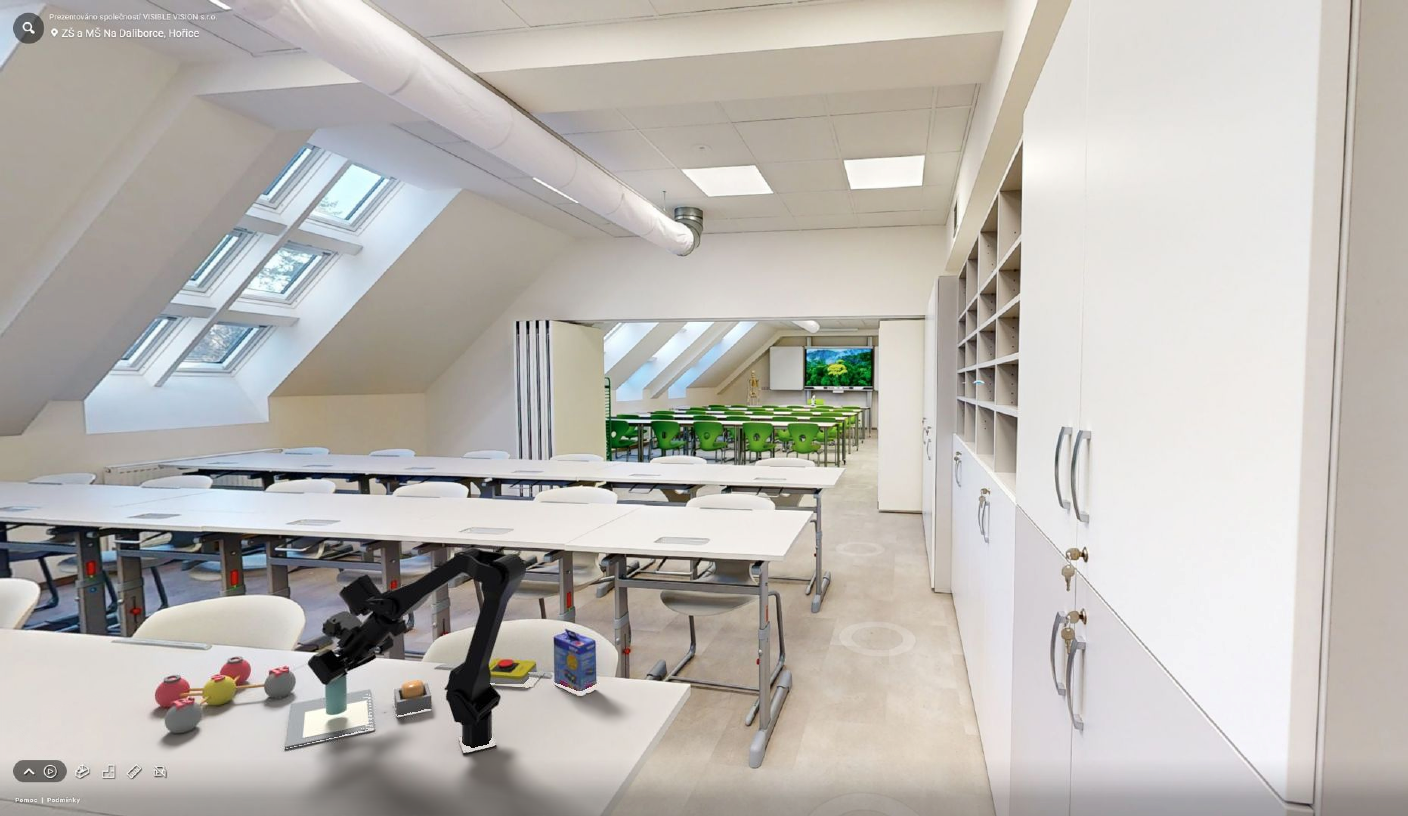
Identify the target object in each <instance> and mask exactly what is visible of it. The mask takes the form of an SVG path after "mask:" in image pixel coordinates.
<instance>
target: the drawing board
mask: <svg viewBox="0 0 1408 816" xmlns="http://www.w3.org/2000/svg"><path fill="white" fill-rule="evenodd" d="M371 690H372V689H370V688H369V689H364V690H358V691H353V692H347V710H346V711H344V712H343V713H340V714H336V715H328V714H326V698H325V697H321V698H315V699H311V700H304V701H299V702H294V703H293V702H292V703H290V706H289V714H288V720H287V727H286V736H285V741H284V750H285V749H286V748H290V747H294V746H299V745H304V744H307V743H312V742H316V741H320V740H326V739H329V738H334V737H339V736H342V735H345V734H351V733H354V732H356V731H357V732H358V731H365V730H368V729H366V728H375V722H374V721H375V720H374V719H375V718H374V709H373V702H369V700H371V699H372V692H371ZM366 694H368V695H366ZM369 694H371V696H369ZM363 697H371V699H368V698H363ZM365 700H366V701H365ZM367 700H368V701H367ZM367 703H368V704H367ZM369 703H372V705H369ZM367 706H368V707H367ZM369 706H372V707H369ZM369 709H373V710H369ZM369 712H373V713H370V715H373V716H372V717H369V716H368V715H369ZM368 718H374V719H372V720H368ZM369 722H373V723H369ZM365 725H373V727H372V726H371V727H370V726H367V727H366V726H365ZM361 728H362V729H361ZM363 728H364V729H363Z"/></svg>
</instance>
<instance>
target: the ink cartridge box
mask: <svg viewBox="0 0 1408 816" xmlns="http://www.w3.org/2000/svg"><path fill="white" fill-rule="evenodd" d="M564 631H565V632H563V633H560V634H557V635H555V636H553V669H554V670H553V676H554V677H553V679H554V682H555V683H557V684H561V685H563V686H565V687H569V688H571V689H574V690H576V691H583V690H585V689H587V688H589V687H592V686H593V685H595V684H598V681H597V680H598V679H597V647H596V646H597V644H596V643H597V642H596V640H595V639H593V638H591V637H588V636H584V635H580V633H577V632H576V631H572V630H570V629H568V628H564ZM554 682H553V683H554Z"/></svg>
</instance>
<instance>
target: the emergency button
mask: <svg viewBox="0 0 1408 816" xmlns="http://www.w3.org/2000/svg"><path fill="white" fill-rule="evenodd" d="M489 668H490V672H491V680H490V683H495V684H524V683H525V682H526V681H527V680H528V679H529V675H530V674H529V673H528V672H544V671H542V670H537V662H536V661H535V660H524V659H523V660H522V659H512V658H511V659H510V658H494V659H492V660H490V661H489Z"/></svg>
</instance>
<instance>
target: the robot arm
mask: <svg viewBox="0 0 1408 816" xmlns="http://www.w3.org/2000/svg"><path fill="white" fill-rule="evenodd" d="M526 573H527V565H526V564H525V562H524V560H523V559H522V558H521V556H519V555H518V554H515V553H508V554H506V553H503V552H499V551H497V552H496V551H489V550H482V549H480V548H477V547H469V548H466V549H464V550H461V551H459V552H456V554H455V555H454V556H452V558H450V559H448V560H447V561H445V562H444V563H442V564H441V565H439V566H438V567H436V568H435V569H433V570H431V571H430V572H428V573H427V574H425V575H423V576H422V577H421V578H418V579H417V580H415V581H412V582H410V583H407V584H405V585H402V586H400V587H398V588H393V589H389V590H386V591H384V592H381V590H380V589H379V588H378V587H377V586H376V584H375V583H374V581H373V580H372V579H371V577H370V576H369V574H368V573H366V574H363V575H360V576H358V578H357V579H355V580H354V581H352V582H351V583H349V584H348V585H346V586H345V587H343V588H342V589H341V590H340V591H339V592H338V593H339V594H338V595H339V597H340V598H341V599H342V600H343V602H344V603H345V604H346V606H347V607H348V609H350V610H351V612H352V613H353V614H352V613H351V612H349V611H347V610H346V611H345V610H344V611H340V612H337V613H336V614H333V615H331V616H329V618H327V619H326V620H325V622H324V623H322V629H321V631H322V633H323V634H325V635H326V636H327V637H328V638H336V639H337V640H338V641H337V642H336V644H337V645H338V646H339V648H340V649H339V650H337V651H336V653H335V652H334V651H333V650H332V649H327V648H326V649H324V650H322V651H320V652H318V653H316V654H314V655H312V656H311V658H309V660H308V661H307V665H308V667H309V669H310V670H311V671H312V672H313V673H314V674H315V676H316V677H317V679H318V681H320V682H321V685H324V686H325V685H328V684H330V683H331V682H333V681H335V680H337V679H339V678H341V677H343V676H345V675H346V676H347V675H348V674H349V673H348V672H350V671H353V670H355V669H356V668H360V667H362V666H363V665H366V664H369V663H370V662H373V661H374V660H376V659H377V655H376V649H379V651H378V654H379V656H383V655H384V654H386V653H387V652H390V650H391V649H393V647H394V639H393V638H392V637H391V636H390V634H391V635H392V636H393V637H394V638H396V637H398V636H400V635H401V634H403V633H405V632H407V631H408V625H407V624H406V619H403V618H404V617H405V616H406V615H410V614H411V613H412V612H414V611H417V610H418V609H419V608H420V607H422V605H423V604H425V603H426V602H427V600H428V599H429V598H430V596H431V595H433V593H435V592H436V591H438V590H440V589H441V588H443V587H444V586H446V585H448V584H449V583H451V582H452V581H453V580H455V579H457V578H459V577H460V576H462V575H463V574H466V575H467V576H468V577H470V578H471V579H472V580H473V581H475V582H478V583H481V585H480V589H481V592H482V595H483V601H482V605H481V608H480V611H479V613H478V614H479V615H478V617H477V620H476V623H475V624H476V625H475V627H474V630H473V633H472V637H471V641H470V643H469V646H468V650H467V653H466V657H465V660H464V661H463V662H462V663H460V664H459V665H458V666H456V667H455V668H454V669H452V670H450V673H449V675H448V682H447V684H446V686H445V687H444V691H446V693H445V700H446V701H447V702H448V705H449V708H450V711H451V714H452V718H453V721H454V723H459V724H460V725H461V736H462V743H463V744H464V745H466V746H470V747H471V748H475V747H478V746H483V745H487V744H489V741H490V740H491V738H492V734H493V711H492V710H493V709H495V708H496V707H498V706H499V704H500V701H501V698H502V696H501V694H499V692H498V691H497V690H496V688H495V686H492V685H491V684H490V680H491V672H490V668H489V663H490V662H491V657H492V655H493V651H494V648H495V645H496V642H497V638H498V636H499V631H500V629H501V626H502V622H503V619H504V617H505V616H504V615H505V612H506V609H507V606H508V603H509V602H510V599H511V598H512V597H513V595H514V594H515V592H516V591H517V590H518V588H519V587H520V584H521V583H522V581H523V579H524V577H525V575H526ZM360 615H362V617H366V616H367V615H368V616H367V618H365V620H364V621H363V622H362V620H361V619H360V618H358V616H360ZM336 654H337V655H336ZM346 669H347V672H346Z"/></svg>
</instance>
